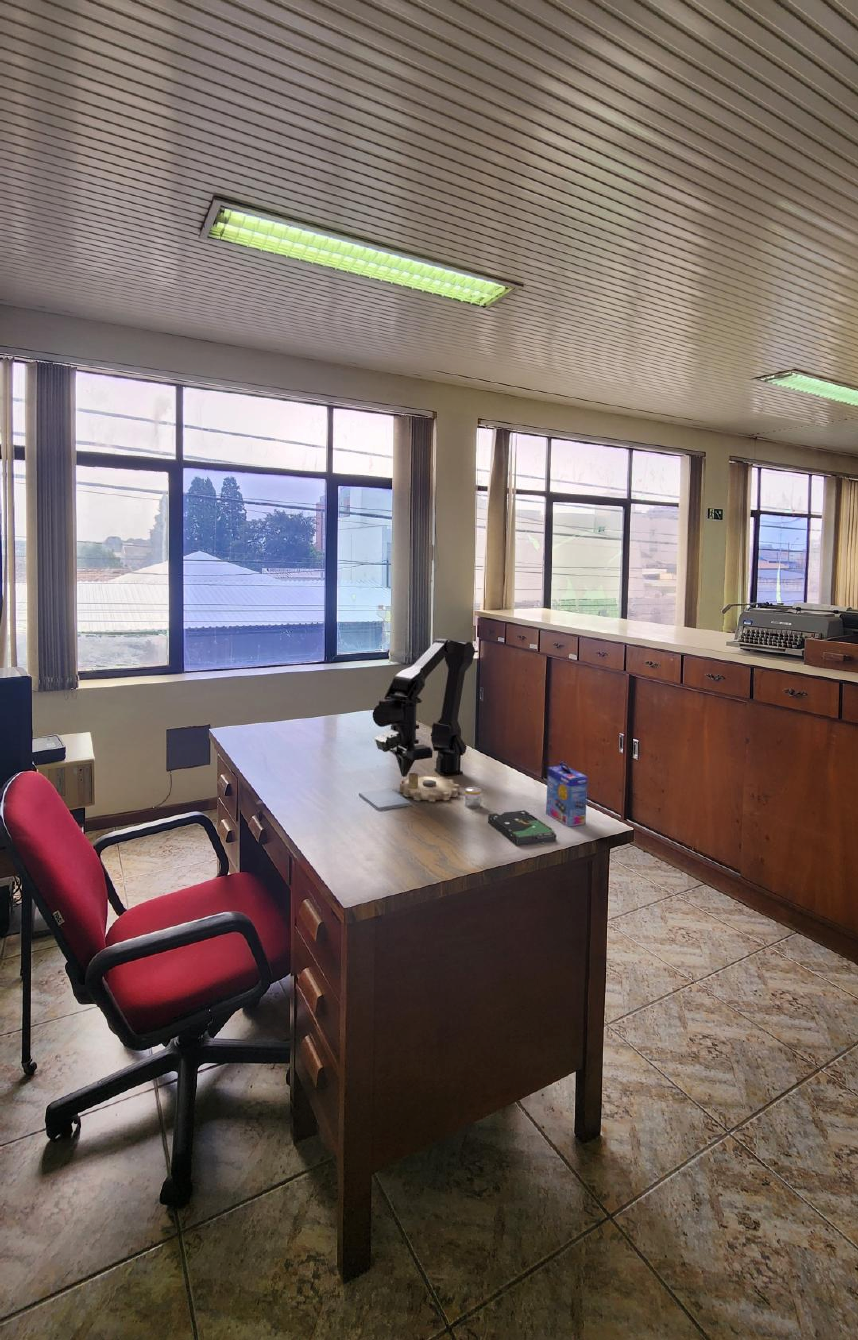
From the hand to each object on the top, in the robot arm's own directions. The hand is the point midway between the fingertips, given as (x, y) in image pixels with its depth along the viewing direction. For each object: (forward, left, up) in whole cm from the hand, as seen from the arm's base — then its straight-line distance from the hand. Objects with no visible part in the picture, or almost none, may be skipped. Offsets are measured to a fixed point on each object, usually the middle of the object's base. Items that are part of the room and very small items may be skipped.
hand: (404, 776), depth 184 cm
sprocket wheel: (-5, +5, -4) cm, 8 cm away
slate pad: (+9, +6, -4) cm, 11 cm away
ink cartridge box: (-26, +36, -4) cm, 45 cm away
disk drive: (-11, +38, -4) cm, 40 cm away
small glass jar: (-10, +19, -4) cm, 22 cm away
